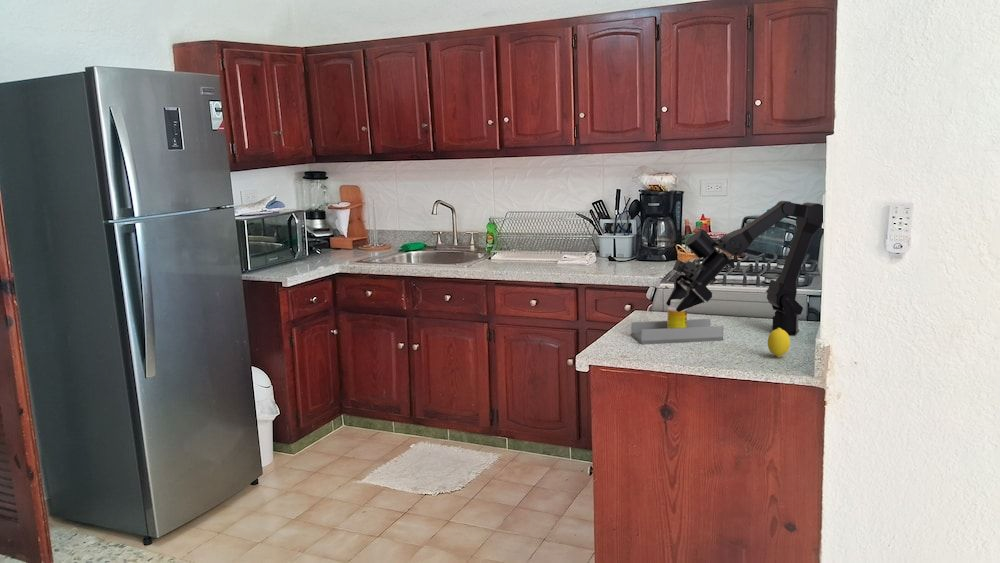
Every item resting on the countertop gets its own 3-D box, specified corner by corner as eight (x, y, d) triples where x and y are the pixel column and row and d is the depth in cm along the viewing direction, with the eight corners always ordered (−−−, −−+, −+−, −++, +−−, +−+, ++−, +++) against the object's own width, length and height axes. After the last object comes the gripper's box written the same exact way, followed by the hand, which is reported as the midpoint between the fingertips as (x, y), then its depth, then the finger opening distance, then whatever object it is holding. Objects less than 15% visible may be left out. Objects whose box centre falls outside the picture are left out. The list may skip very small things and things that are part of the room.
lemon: (763, 355, 209) (764, 326, 208) (783, 354, 209) (784, 325, 208) (772, 360, 204) (773, 330, 202) (793, 359, 204) (794, 329, 203)
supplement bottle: (687, 336, 228) (688, 302, 226) (668, 336, 228) (668, 302, 227) (685, 332, 233) (686, 298, 231) (666, 332, 234) (667, 298, 232)
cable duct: (708, 331, 238) (709, 318, 237) (723, 340, 226) (723, 326, 226) (631, 335, 235) (631, 322, 235) (641, 344, 224) (641, 330, 224)
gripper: (680, 246, 236) (644, 284, 237) (701, 254, 218) (662, 294, 219) (705, 271, 238) (669, 308, 239) (728, 281, 220) (689, 321, 221)
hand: (672, 307), depth 229 cm, fingers open, 9 cm apart
